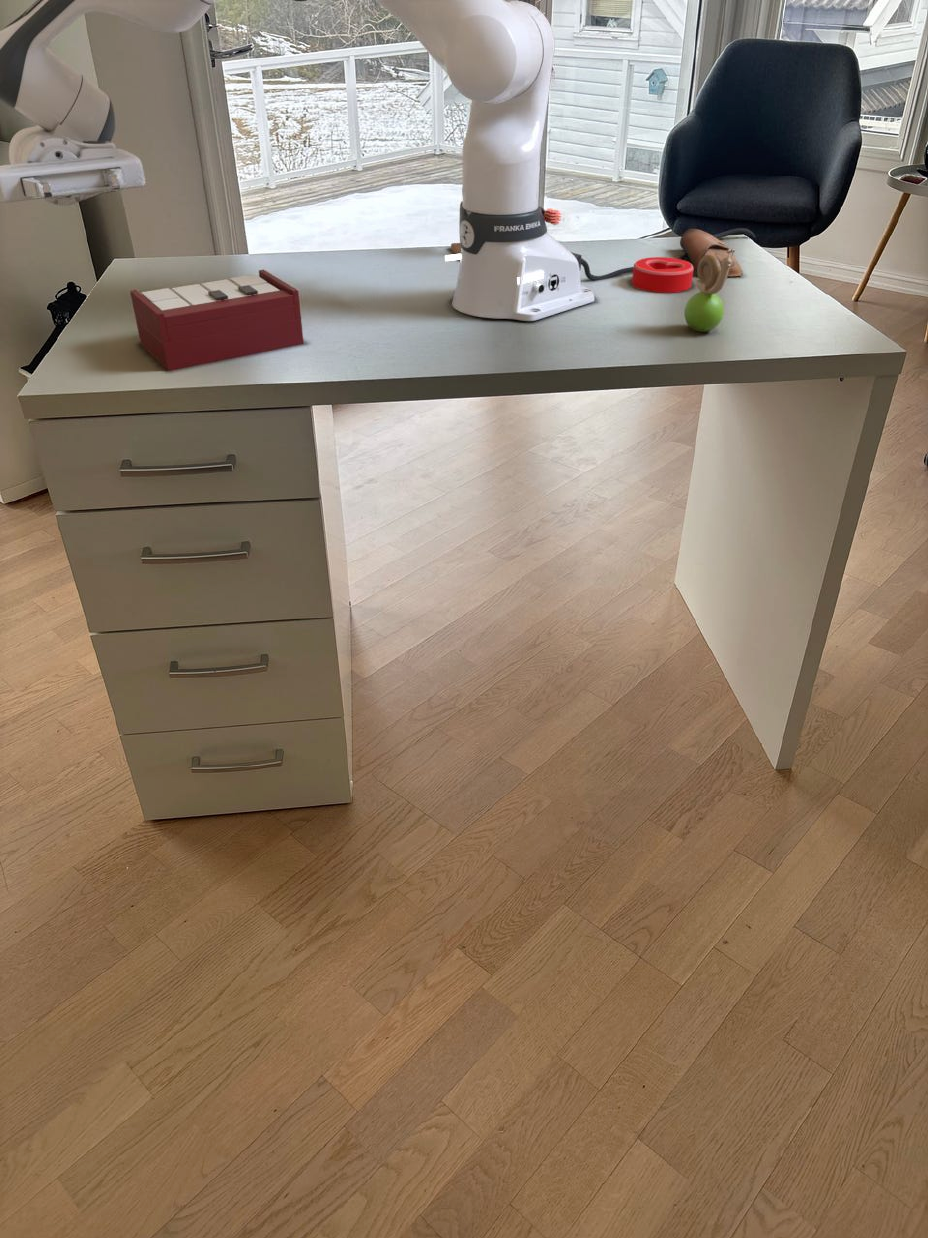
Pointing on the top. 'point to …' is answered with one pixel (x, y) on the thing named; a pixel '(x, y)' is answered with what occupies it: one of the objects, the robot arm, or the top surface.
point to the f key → (159, 295)
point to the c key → (247, 280)
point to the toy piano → (219, 321)
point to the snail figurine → (708, 294)
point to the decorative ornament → (662, 274)
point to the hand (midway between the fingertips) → (81, 186)
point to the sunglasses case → (707, 249)
